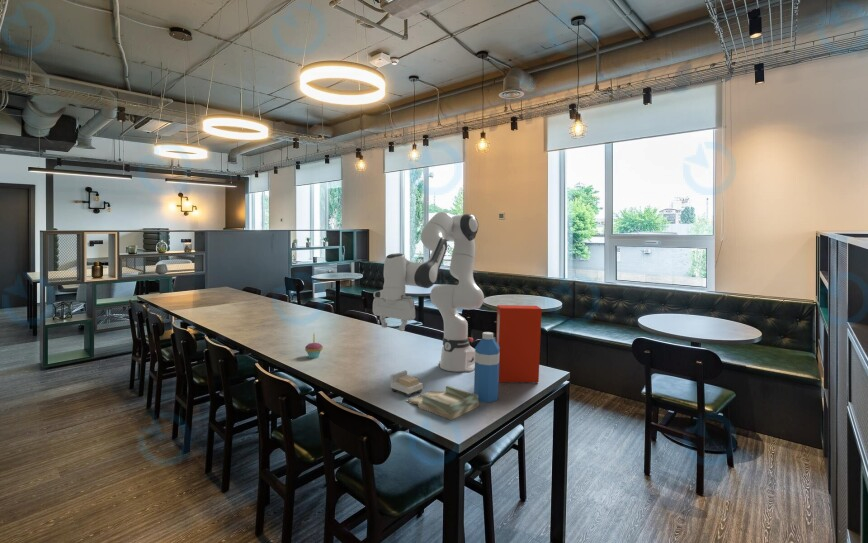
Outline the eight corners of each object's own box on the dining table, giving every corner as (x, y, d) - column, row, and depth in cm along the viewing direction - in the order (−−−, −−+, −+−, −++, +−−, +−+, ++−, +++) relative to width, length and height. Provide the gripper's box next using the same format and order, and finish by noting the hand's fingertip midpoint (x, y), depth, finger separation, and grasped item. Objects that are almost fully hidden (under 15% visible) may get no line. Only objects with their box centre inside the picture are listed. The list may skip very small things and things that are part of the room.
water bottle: (496, 393, 163) (497, 330, 161) (500, 402, 153) (502, 336, 152) (472, 392, 162) (474, 330, 161) (475, 402, 153) (477, 335, 151)
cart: (404, 385, 169) (405, 370, 168) (422, 392, 162) (423, 376, 162) (390, 391, 163) (390, 374, 162) (408, 397, 156) (408, 381, 156)
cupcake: (305, 355, 210) (305, 331, 209) (322, 354, 213) (322, 331, 212) (305, 359, 202) (305, 335, 201) (323, 358, 205) (323, 334, 204)
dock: (431, 392, 164) (431, 379, 164) (478, 409, 149) (479, 394, 149) (402, 404, 152) (402, 389, 152) (450, 423, 137) (451, 407, 137)
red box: (538, 383, 175) (541, 308, 172) (498, 382, 174) (500, 308, 172) (533, 377, 183) (536, 305, 180) (494, 376, 183) (497, 304, 180)
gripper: (419, 296, 160) (418, 331, 160) (381, 291, 172) (380, 324, 173) (408, 297, 155) (407, 333, 155) (370, 292, 167) (369, 326, 168)
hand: (392, 329), depth 164 cm, fingers open, 8 cm apart
